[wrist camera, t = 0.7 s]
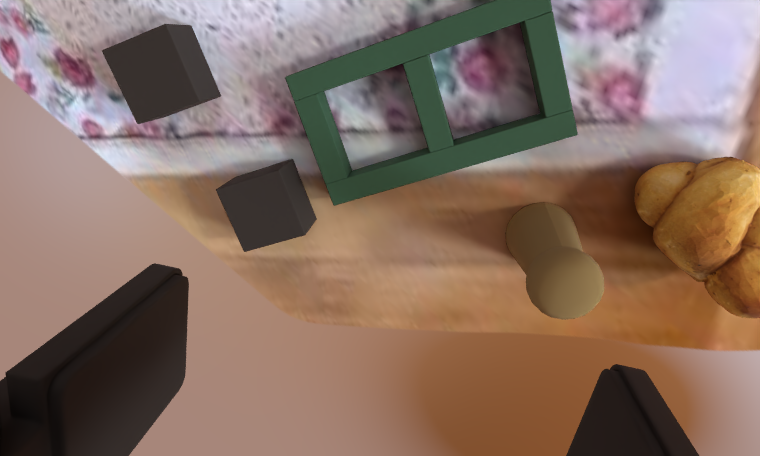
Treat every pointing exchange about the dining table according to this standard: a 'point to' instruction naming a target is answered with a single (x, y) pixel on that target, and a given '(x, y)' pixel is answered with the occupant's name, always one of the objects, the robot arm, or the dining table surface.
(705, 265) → the bread roll
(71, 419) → the robot arm
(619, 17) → the dining table surface
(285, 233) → the pad
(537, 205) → the pepper mill
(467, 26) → the green rectangular frame
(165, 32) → the pad
